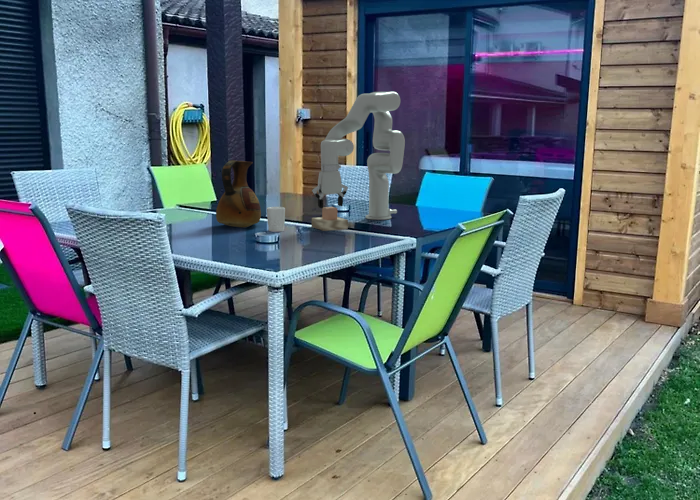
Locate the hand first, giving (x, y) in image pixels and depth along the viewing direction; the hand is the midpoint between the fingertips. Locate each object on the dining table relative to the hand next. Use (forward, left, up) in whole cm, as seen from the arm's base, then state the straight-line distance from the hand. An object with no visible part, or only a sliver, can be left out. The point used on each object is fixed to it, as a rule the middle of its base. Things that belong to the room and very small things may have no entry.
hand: (330, 206), depth 300 cm
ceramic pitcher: (+36, -21, -10) cm, 42 cm away
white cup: (+25, -4, -10) cm, 27 cm away
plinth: (+1, 0, -9) cm, 9 cm away
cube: (+1, 0, -5) cm, 5 cm away
